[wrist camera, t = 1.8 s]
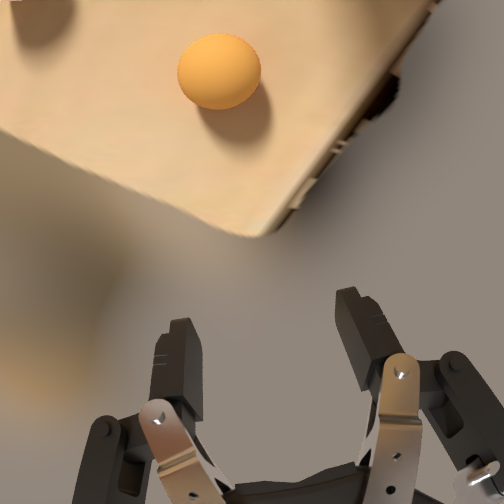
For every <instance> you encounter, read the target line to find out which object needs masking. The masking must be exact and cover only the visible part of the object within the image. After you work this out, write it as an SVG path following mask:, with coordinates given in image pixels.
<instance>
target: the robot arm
mask: <svg viewBox="0 0 504 504" xmlns="http://www.w3.org/2000/svg"><path fill="white" fill-rule="evenodd" d="M335 322H336V326H337V329H338V332H339V334H340V337H341V339H342V342H343V344H344V347H345V350H346V352H347V355H348V357H349V360H350V362H351V365H352V368H353V370H354V373H355V375H356V378H357V381H358V384H359V386H360V389H361V391H366V390H370V392H371V395H372V397H371V401H370V407H369V413H368V419H367V425H366V430H365V436H364V440H363V444H362V447H361V449H360V453H359V457H358V461H357V465H356V466H355V463H354V462H351V463H348V464H344V465H340V466H337V467H333V468H329V469H325V470H323V471H321V472H319V473H317V474H315V475H313V476H311V477H308V478H306V479H304V480H302V481H300V482H296V483H288V482H272V481H260V482H251V483H242V484H235V489H233V487H232V486H231V485H230V483H229V482H228V480H227V479H226V478H225V476H224V475H223V474H222V473H221V471H220V470H219V469H218V468H217V466H216V465H215V463H214V461H213V460H212V458H211V457H210V455H209V453H208V452H207V450H206V448H205V447H204V445H203V444H202V442H201V440H200V438H199V437H198V435H197V433H196V432H195V422H197V421H203V389H202V388H203V387H202V386H203V384H202V346H201V342H200V339H199V337H198V335H197V333H196V330H195V328H194V326H193V324H192V321H191V319H190V318H182V319H175V320H172V321H171V323H170V331H169V333H166V334H162V335H161V336H160V338H159V340H158V342H157V343H156V346H155V353H154V356H155V357H154V361H153V365H154V366H153V370H152V378H151V386H150V396H149V400H148V402H147V403H145V404H144V405H143V407H142V408H141V410H140V412H139V413H137V414H135V415H132V416H130V417H127V418H123V419H120V420H117V419H116V418H114V417H112V416H108V415H105V416H101V417H99V418H97V419H96V420H95V421H94V423H93V424H92V426H91V429H90V433H89V436H88V440H87V443H86V447H85V451H84V454H83V458H82V462H81V465H80V469H79V473H78V478H77V482H76V486H75V491H74V496H73V500H72V504H145V498H146V492H147V486H148V480H149V473H150V469H151V463H152V460H153V459H156V461H157V463H158V466H159V468H158V470H157V474H158V477H159V479H160V481H161V483H162V485H163V487H164V489H165V491H166V493H167V495H168V497H169V498H170V500H171V502H172V504H443V503H442V502H440V501H438V500H436V499H434V498H432V497H430V496H428V495H426V494H424V493H422V492H420V491H419V490H417V489H415V483H416V477H417V471H418V464H419V457H420V449H421V439H422V421H421V420H420V419H419V417H418V410H419V409H422V411H423V413H424V414H425V416H426V417H427V419H428V421H429V422H430V424H431V426H432V427H433V429H434V431H435V432H436V434H437V436H438V437H439V439H440V441H441V443H442V444H443V446H444V448H445V449H446V451H447V453H448V455H449V456H450V458H451V460H452V462H453V464H454V465H455V467H456V469H457V471H458V473H457V474H456V476H455V479H454V489H455V493H456V499H455V502H454V504H499V503H500V502H501V501H502V500H504V408H503V406H502V405H501V403H500V402H499V400H498V399H497V397H496V396H495V395H494V394H493V392H492V390H491V389H490V387H489V386H488V385H487V384H486V382H485V381H484V379H483V378H482V376H481V375H480V374H479V372H478V371H477V370H476V369H475V367H474V366H473V365H472V363H471V362H470V361H469V359H468V358H467V357H466V356H465V355H464V354H462V353H461V352H458V351H450V352H447V353H445V354H444V355H443V356H442V358H441V359H440V360H431V361H419V360H416V359H415V358H414V357H412V356H411V355H408V354H406V353H405V352H404V350H403V349H402V347H401V345H400V343H399V341H398V339H397V337H396V335H395V334H394V332H393V330H392V328H391V326H390V324H389V323H388V322H387V319H386V317H385V315H383V312H382V310H381V308H380V306H379V305H378V303H377V302H375V301H374V300H373V299H371V298H370V297H369V296H366V297H362V298H361V297H360V294H359V293H358V291H357V289H356V287H354V286H353V287H349V288H345V289H340V290H337V291H336V305H335Z"/></svg>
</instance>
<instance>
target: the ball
mask: <svg viewBox="0 0 504 504" xmlns="http://www.w3.org/2000/svg"><path fill="white" fill-rule="evenodd" d="M177 76H178V82H179V85H180V87H181V89H182V91H183V93H184V94H185V95H186V96H187V98H189V99H190V100H191V101H192V102H194V103H195V104H197V105H199V106H201V107H204V108H208V109H214V110H221V109H228V108H232V107H234V106H237V105H239V104H241V103H242V102H244V101H245V100H246V99H248V98H249V97H250V96H251V95H252V93H253V92H254V91H255V89H256V87H257V85H258V83H259V80H260V76H261V65H260V60H259V58H258V55H257V53H256V52H255V50H254V49H253V48H252V47H251V46H250V45H249V44H248V43H247V42H246V41H244V40H243V39H241V38H239V37H236V36H233V35H229V34H212V35H208V36H205V37H202V38H200V39H198V40H196V41H195V42H194V43H192V44H191V45H190V46H189V47H188V48H187V49H186V50H185V52H184V53H183V55H182V56H181V59H180V61H179V64H178V70H177Z"/></svg>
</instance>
